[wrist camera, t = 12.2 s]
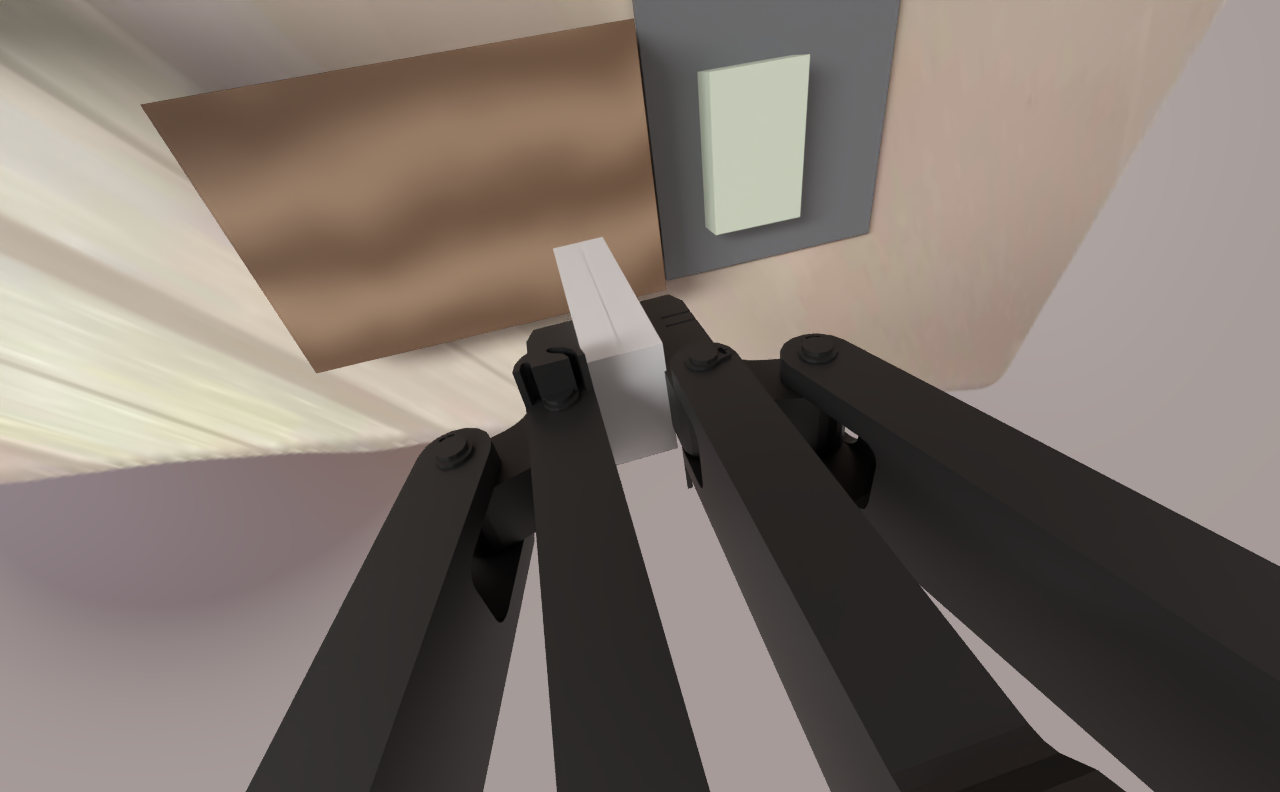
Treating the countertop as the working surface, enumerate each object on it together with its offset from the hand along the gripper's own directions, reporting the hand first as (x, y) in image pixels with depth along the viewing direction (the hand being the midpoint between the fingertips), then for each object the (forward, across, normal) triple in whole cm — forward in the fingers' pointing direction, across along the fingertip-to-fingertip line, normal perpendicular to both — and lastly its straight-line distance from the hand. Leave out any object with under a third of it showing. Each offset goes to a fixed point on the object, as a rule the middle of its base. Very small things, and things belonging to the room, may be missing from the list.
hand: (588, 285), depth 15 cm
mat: (+18, +15, -1) cm, 24 cm away
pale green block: (+16, +13, -1) cm, 21 cm away
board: (+18, -5, -1) cm, 19 cm away
